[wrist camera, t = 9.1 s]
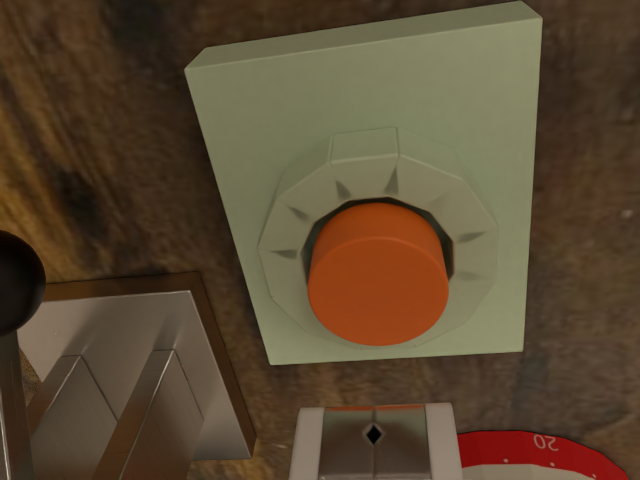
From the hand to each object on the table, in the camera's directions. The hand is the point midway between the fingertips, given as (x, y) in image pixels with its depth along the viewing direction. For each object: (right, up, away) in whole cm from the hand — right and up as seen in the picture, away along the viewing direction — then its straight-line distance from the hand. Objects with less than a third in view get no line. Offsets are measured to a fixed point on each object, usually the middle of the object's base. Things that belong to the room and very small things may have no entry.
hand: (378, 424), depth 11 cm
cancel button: (0, +3, +4) cm, 6 cm away
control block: (+1, +5, +7) cm, 9 cm away
